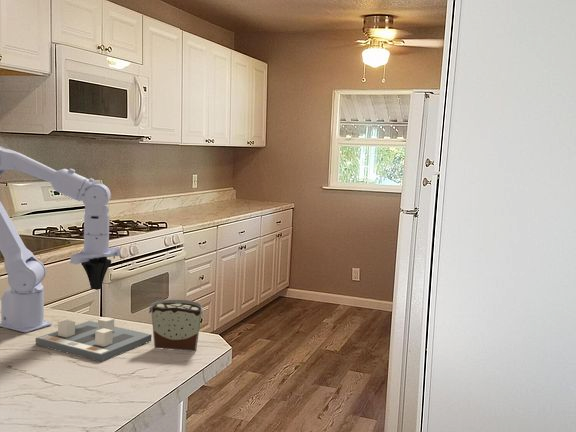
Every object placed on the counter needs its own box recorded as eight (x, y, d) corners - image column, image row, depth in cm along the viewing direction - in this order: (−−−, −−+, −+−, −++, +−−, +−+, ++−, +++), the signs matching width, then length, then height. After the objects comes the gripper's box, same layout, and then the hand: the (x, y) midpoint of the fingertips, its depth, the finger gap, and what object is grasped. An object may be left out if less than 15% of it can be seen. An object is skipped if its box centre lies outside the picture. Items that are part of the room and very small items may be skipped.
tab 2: (98, 332, 136) (98, 319, 135) (105, 329, 138) (105, 317, 138) (106, 334, 135) (106, 321, 134) (114, 331, 137) (114, 318, 137)
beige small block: (58, 335, 132) (58, 322, 132) (66, 332, 134) (66, 319, 134) (66, 337, 131) (66, 324, 131) (74, 334, 133) (75, 321, 133)
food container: (208, 343, 137) (210, 301, 136) (202, 352, 131) (203, 308, 129) (156, 339, 138) (157, 297, 137) (147, 347, 132) (148, 303, 131)
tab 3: (95, 344, 127) (95, 331, 127) (103, 341, 130) (103, 328, 129) (104, 346, 126) (104, 333, 126) (112, 343, 129) (112, 330, 128)
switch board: (35, 344, 130) (35, 337, 130) (89, 326, 145) (89, 320, 144) (101, 361, 122) (101, 354, 122) (151, 340, 136) (151, 334, 136)
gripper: (86, 238, 134) (86, 297, 136) (130, 232, 147) (129, 285, 149) (63, 235, 137) (63, 292, 139) (108, 229, 150) (107, 281, 152)
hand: (95, 288), depth 144 cm, fingers closed
